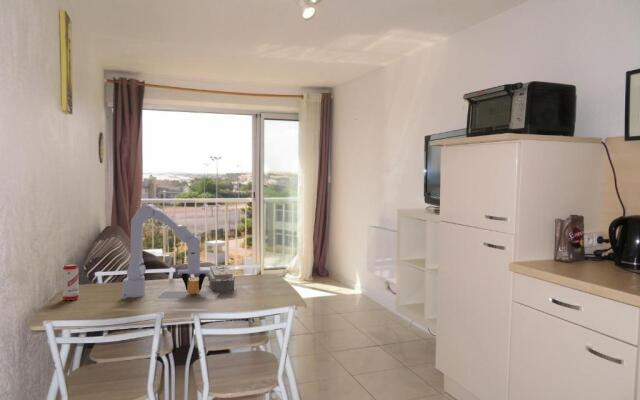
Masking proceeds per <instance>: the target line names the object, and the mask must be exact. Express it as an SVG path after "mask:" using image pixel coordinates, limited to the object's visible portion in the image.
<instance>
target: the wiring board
mask: <svg viewBox="0 0 640 400" xmlns="http://www.w3.org/2000/svg"><path fill="white" fill-rule="evenodd" d="M210 294H211V291H200V292H199V293H195V294H190V293H187V291H164V292H163V293H161V294H160V295H159V296H158V297H157V299H206V298H208V296H209V295H210Z"/></svg>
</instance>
